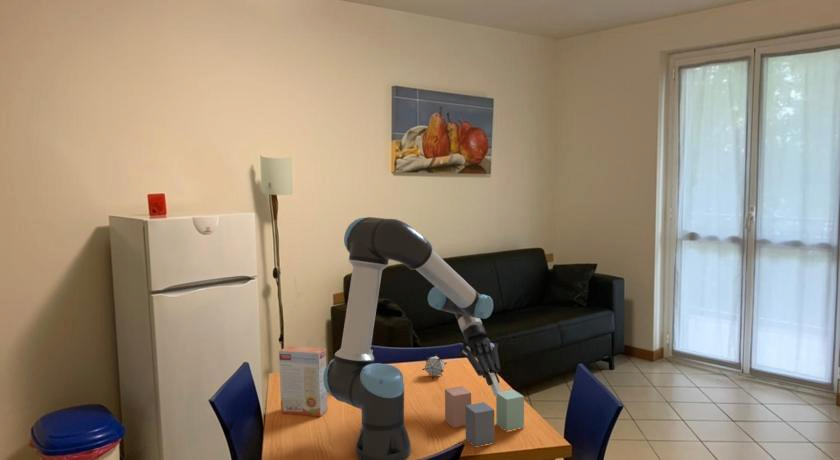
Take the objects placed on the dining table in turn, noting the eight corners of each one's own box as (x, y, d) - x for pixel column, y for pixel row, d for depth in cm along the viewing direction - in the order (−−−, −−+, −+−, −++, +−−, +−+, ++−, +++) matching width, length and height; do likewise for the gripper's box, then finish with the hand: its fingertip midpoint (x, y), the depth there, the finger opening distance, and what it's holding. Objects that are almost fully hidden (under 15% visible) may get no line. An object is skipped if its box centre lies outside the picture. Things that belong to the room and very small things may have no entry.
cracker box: (328, 410, 187) (326, 347, 185) (320, 417, 182) (318, 353, 180) (289, 406, 191) (287, 344, 189) (280, 413, 185) (278, 350, 183)
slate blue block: (494, 443, 163) (494, 409, 162) (475, 447, 160) (475, 413, 159) (483, 435, 168) (483, 402, 167) (465, 438, 166) (465, 405, 165)
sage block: (523, 428, 172) (524, 396, 171) (506, 432, 170) (506, 399, 169) (513, 420, 178) (513, 389, 177) (496, 424, 175) (496, 392, 174)
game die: (430, 387, 217) (414, 368, 215) (436, 372, 225) (420, 353, 223) (449, 379, 213) (433, 359, 211) (454, 364, 220) (438, 345, 218)
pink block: (471, 424, 175) (471, 392, 175) (453, 427, 173) (453, 395, 172) (462, 417, 181) (462, 386, 180) (445, 420, 179) (444, 389, 178)
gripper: (485, 332, 200) (511, 395, 186) (451, 337, 195) (475, 402, 181) (493, 320, 194) (520, 385, 181) (458, 325, 189) (483, 391, 176)
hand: (497, 393), depth 181 cm, fingers closed
